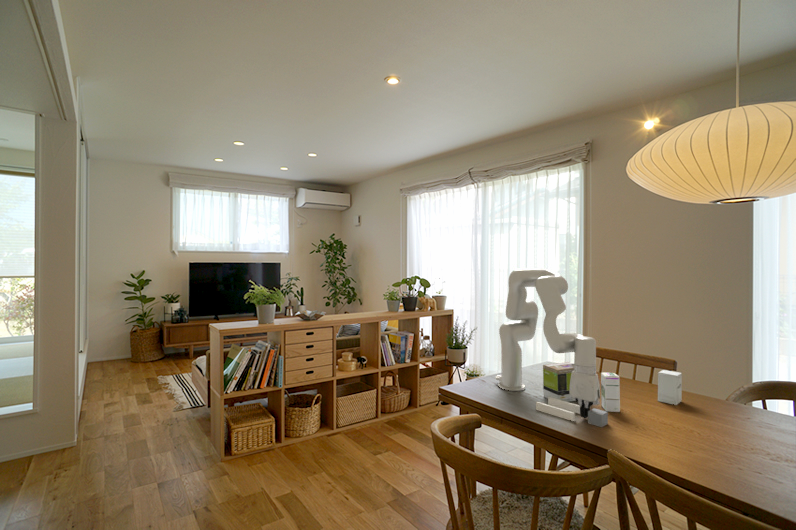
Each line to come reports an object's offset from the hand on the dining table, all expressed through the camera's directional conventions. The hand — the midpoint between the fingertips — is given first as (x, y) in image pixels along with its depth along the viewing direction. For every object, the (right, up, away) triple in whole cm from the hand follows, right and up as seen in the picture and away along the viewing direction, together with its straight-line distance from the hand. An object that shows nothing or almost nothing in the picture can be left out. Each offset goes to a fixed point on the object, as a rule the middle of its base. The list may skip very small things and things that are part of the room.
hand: (584, 416), depth 154 cm
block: (+3, -1, -4) cm, 5 cm away
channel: (-6, -1, +8) cm, 10 cm away
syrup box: (+16, -1, +11) cm, 19 cm away
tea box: (+2, -1, +24) cm, 25 cm away
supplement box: (+47, -1, +20) cm, 51 cm away
